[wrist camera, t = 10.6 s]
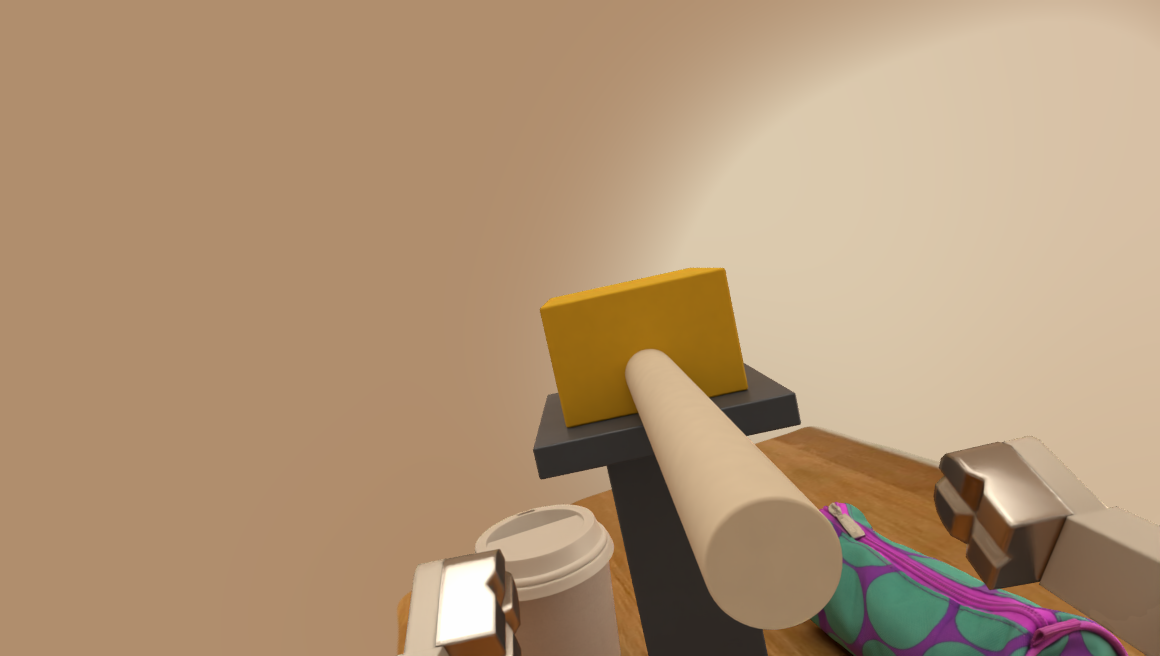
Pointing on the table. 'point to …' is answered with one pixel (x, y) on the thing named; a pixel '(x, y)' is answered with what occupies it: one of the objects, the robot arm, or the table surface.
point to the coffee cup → (559, 580)
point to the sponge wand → (696, 436)
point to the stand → (663, 516)
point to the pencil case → (938, 606)
